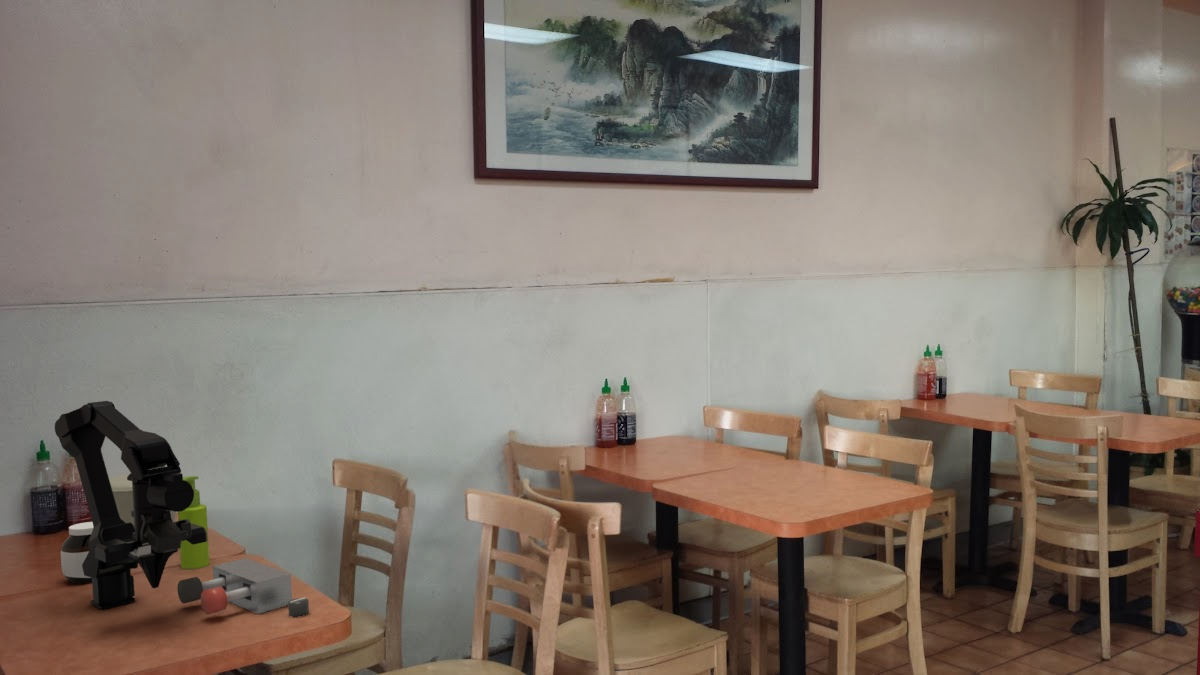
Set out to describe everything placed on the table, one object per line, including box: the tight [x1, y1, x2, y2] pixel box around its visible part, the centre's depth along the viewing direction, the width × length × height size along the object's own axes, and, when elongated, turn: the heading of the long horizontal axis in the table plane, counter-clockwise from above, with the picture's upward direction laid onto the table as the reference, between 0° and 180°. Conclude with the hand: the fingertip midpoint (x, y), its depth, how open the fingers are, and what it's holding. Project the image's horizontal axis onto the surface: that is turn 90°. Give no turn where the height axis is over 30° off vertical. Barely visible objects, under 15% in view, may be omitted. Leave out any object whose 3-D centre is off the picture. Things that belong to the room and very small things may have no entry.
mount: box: [212, 557, 293, 615], centre depth 195 cm, size 7×18×6 cm, turn 46°
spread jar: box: [60, 521, 93, 584], centre depth 216 cm, size 12×11×12 cm
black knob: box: [176, 576, 226, 604], centre depth 195 cm, size 12×4×4 cm, turn 136°
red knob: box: [200, 586, 251, 615], centre depth 188 cm, size 12×4×4 cm, turn 136°
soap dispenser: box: [177, 475, 210, 570], centre depth 221 cm, size 6×7×20 cm
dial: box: [287, 596, 310, 618], centre depth 186 cm, size 4×4×3 cm
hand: (155, 587), depth 187 cm, fingers closed
